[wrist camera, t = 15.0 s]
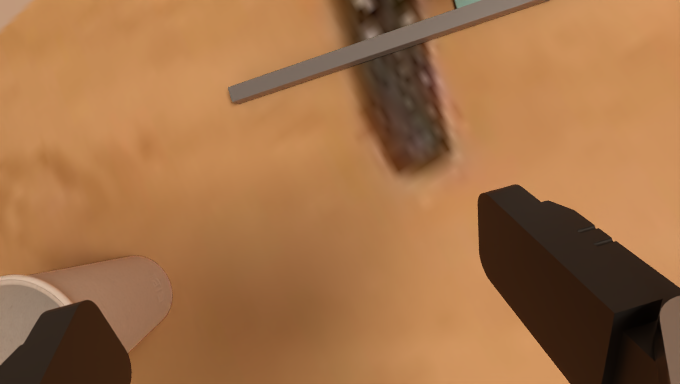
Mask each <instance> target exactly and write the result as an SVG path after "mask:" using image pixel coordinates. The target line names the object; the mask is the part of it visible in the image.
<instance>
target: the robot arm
mask: <svg viewBox="0 0 680 384" xmlns="http://www.w3.org/2000/svg"><path fill="white" fill-rule="evenodd" d="M478 231H479V255H480V260H481V263H482V266H483V269H484V271H485V273H486V275H487V277H488V279H489V280H490V281H491V283H492V284H493V285H494V287H495V288H496V289H497V290H498V292H499V293H500V294H501V296H502V297H503V298H504V299H505V301H506V302H507V303H508V305H509V306H510V307H511V308H512V310H513V311H514V312H515V313H516V315H517V316H518V317H519V319H520V320H521V321H522V322H523V324H524V325H525V326H526V328H527V329H528V330H529V331H530V333H531V334H532V335H533V337H534V338H535V339H536V340H537V342H538V343H539V344H540V345H541V347H542V348H543V349H544V351H545V352H546V353H547V354H548V356H549V357H550V358H551V360H552V361H553V362H554V363H555V365H556V366H557V367H558V369H559V370H560V371H561V372H562V374H563V375H564V376H565V377H566V379H567V380H568V381H569V383H570V384H680V288H679V287H678V286H676V285H675V284H674V283H672V282H671V281H670V280H668V279H667V278H665V277H664V276H663V275H661V274H660V273H659V272H657V271H656V270H655V269H653V268H652V267H651V266H649V265H648V264H646V263H645V262H644V261H642V260H641V259H640V258H638V257H637V256H636V255H634V254H633V253H632V252H630V251H629V250H627V249H626V248H625V247H623V246H622V245H621V244H619V243H618V242H617V241H615V242H613V241H612V238H611V237H610V236H608V235H607V234H606V233H604V232H603V231H602V230H600V229H599V228H598V229H596V228H595V225H594V224H592V223H591V222H589V221H588V220H587V219H585V218H584V217H583V216H581V215H580V214H579V213H577V212H576V211H575V210H572V209H569V208H567V207H564V206H562V205H559V204H556V203H554V202H551V201H544V202H540V201H539V200H538V199H536V198H535V197H534V196H533V195H531V194H530V193H529V192H528V191H526V190H525V189H524V188H523V187H521V186H520V185H511V186H508V187H504V188H500V189H496V190H493V191H489V192H485V193H482V194H480V196H479V198H478ZM131 373H132V372H131V363H130V359H129V355H128V353H127V351H126V349H125V348H124V346H123V345H122V343H121V341H120V340H119V338H118V337H117V335H116V334H115V332H114V331H113V329H112V328H111V326H110V324H109V323H108V321H107V320H106V318H105V317H104V315H103V314H102V312H101V310H100V309H99V307H98V306H97V305H96V304H95V303H94V302H93V301H90V300H84V301H80V302H77V303H73V304H69V305H66V306H62V307H58V308H55V309H51V310H47V311H45V312H43V313H42V314H41V315H40V317H39V318H38V320H37V322H36V323H35V325H34V327H33V328H32V330H31V332H30V333H29V335H28V337H27V338H26V340H25V342H24V344H23V345H20V346H19V347H18V348H17V349H16V350H15V351H14V352H13V353H12V354H11V355H10V356H9V357H8V358H7V359H6V360H5V361H4V362H3V363H2V364H1V365H0V384H130V383H131Z"/></svg>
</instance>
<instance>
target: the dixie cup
mask: <svg viewBox="0 0 680 384" xmlns="http://www.w3.org/2000/svg"><path fill="white" fill-rule="evenodd" d="M84 300H90V301H93V302H94V303H95V304H96V305H97V306H98V307H99V309H100V310H101V312H102V314H103V315H104V317H105V318H106V320H107V321H108V323H109V324H110V326H111V328H112V329H113V331H114V332H115V334H116V335H117V337H118V338H119V340H120V341H121V343H122V345H123V346H124V348H125V349H126V351H127V353H129V352H130V351H131V350H132V349H133V348H134V347H135V346H136V345H137V344H138V343H139V342H140V341H141V340H142V339H143V338H144V337H145V336H146V335H147V334H148V333H149V332H150V331H151V330H152V329H154V328H155V327H156V326H157V325H158V324H159V323H160V322H161V321H162V320H163V319H164V318H165V316H166V315H167V314H168V312H169V310H170V307H171V303H172V287H171V284H170V281H169V279H168V277H167V275H166V273H165V272H164V270H163V269H162V268H161V267H160V266H159V265H158V264H157V263H155V262H154V261H152V260H150V259H148V258H146V257H142V256H128V257H123V258H118V259H112V260H107V261H102V262H96V263H91V264H86V265H80V266H75V267H70V268H64V269H59V270H54V271H48V272H43V273H37V274H32V275H5V276H1V277H0V365H1V364H2V363H3V362H4V361H5V360H6V359H7V358H8V357H9V356H10V355H11V354H12V353H13V352H14V351H15V350H16V349H17V348H18V347H19V346H20V345H23V344H24V342H25V340H26V338H27V337H28V335H29V333H30V332H31V330H32V328H33V327H34V325H35V323H36V322H37V320H38V318H39V317H40V315H41V314H42V313H43V312H45V311H47V310H51V309H55V308H58V307H62V306H66V305H69V304H73V303H77V302H80V301H84Z"/></svg>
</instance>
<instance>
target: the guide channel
mask: <svg viewBox="0 0 680 384" xmlns="http://www.w3.org/2000/svg"><path fill="white" fill-rule="evenodd" d="M546 1H549V0H454V2H455V6H456V9H454V10H452V11H449V12H446V13H443V14H440V15H437V16H434V17H431V18H428V19H425V20H422V21H420V22H417V23H414V24H411V25H408V26H405V27H402V28H399V29H396V30H393V31H390V32H388V33H385V34H382V35H379V36H376V37H373V38H370V39H367V40H364V41H361V42H358V43H356V44H353V45H350V46H347V47H344V48H341V49H338V50H335V51H332V52H329V53H327V54H324V55H321V56H318V57H315V58H312V59H309V60H306V61H303V62H300V63H297V64H295V65H292V66H289V67H286V68H283V69H280V70H277V71H274V72H271V73H268V74H265V75H263V76H260V77H257V78H254V79H251V80H248V81H245V82H242V83H239V84H236V85H233V86H231V87H228V90H229V93H230V97H231V100H232V102H234V103H238V104H241V103H244V102H247V101H250V100H253V99H256V98H259V97H262V96H265V95H268V94H271V93H274V92H277V91H280V90H283V89H285V88H288V87H291V86H294V85H297V84H300V83H303V82H306V81H309V80H312V79H315V78H318V77H321V76H324V75H327V74H330V73H333V72H336V71H339V70H342V69H345V68H348V67H351V66H354V65H357V64H360V63H363V62H366V61H369V60H372V59H375V58H378V57H381V56H384V55H387V54H390V53H393V52H396V51H399V50H402V49H405V48H408V47H411V46H414V45H417V44H420V43H423V42H426V41H429V40H432V39H435V38H438V37H441V36H444V35H447V34H450V33H453V32H456V31H459V30H462V29H465V28H468V27H471V26H474V25H477V24H480V23H483V22H486V21H489V20H492V19H495V18H498V17H501V16H504V15H507V14H510V13H513V12H516V11H519V10H522V9H525V8H528V7H531V6H534V5H537V4H540V3H543V2H546Z"/></svg>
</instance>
